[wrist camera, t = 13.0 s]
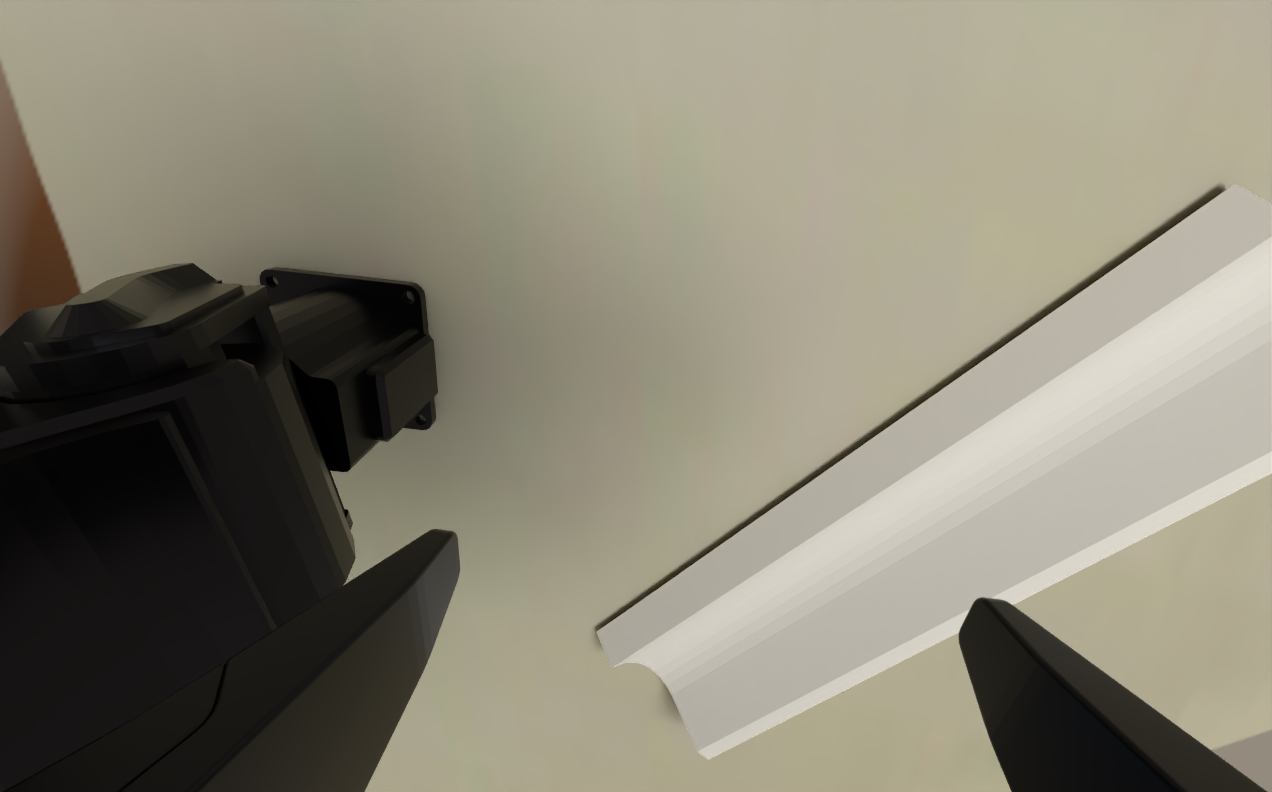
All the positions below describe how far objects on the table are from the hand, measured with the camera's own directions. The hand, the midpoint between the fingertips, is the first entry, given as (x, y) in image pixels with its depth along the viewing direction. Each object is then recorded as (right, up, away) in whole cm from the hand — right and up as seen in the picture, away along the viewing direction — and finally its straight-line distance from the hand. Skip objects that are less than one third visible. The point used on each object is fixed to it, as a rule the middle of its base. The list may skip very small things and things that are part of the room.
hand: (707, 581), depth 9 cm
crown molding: (+12, -3, +16) cm, 20 cm away
